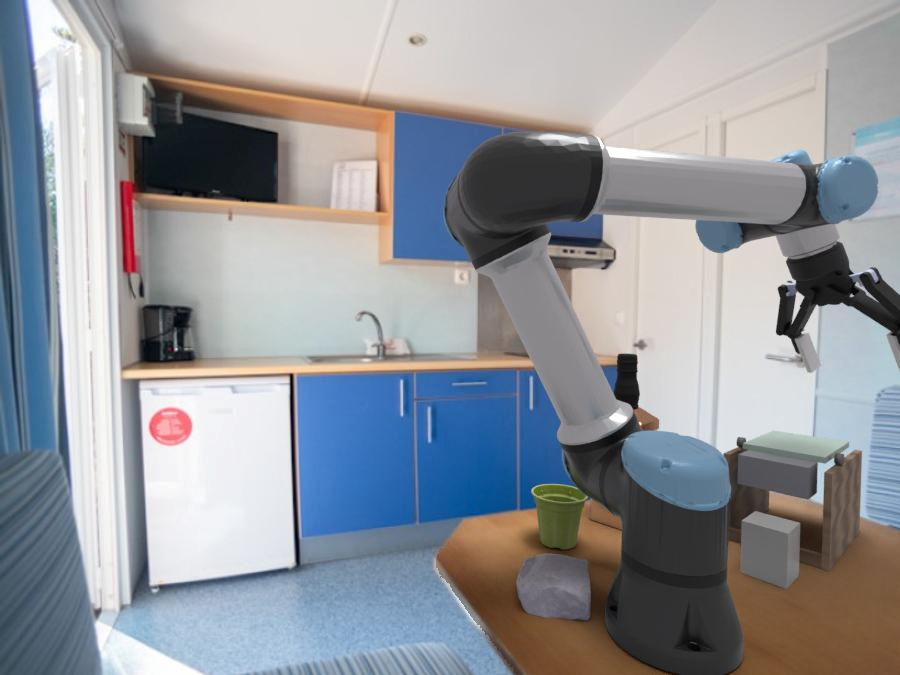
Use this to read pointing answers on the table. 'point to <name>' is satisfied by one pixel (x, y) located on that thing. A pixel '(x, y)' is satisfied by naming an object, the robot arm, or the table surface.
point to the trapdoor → (786, 462)
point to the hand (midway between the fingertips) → (857, 369)
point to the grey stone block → (770, 548)
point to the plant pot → (558, 514)
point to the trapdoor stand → (837, 506)
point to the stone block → (555, 587)
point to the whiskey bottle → (630, 394)
